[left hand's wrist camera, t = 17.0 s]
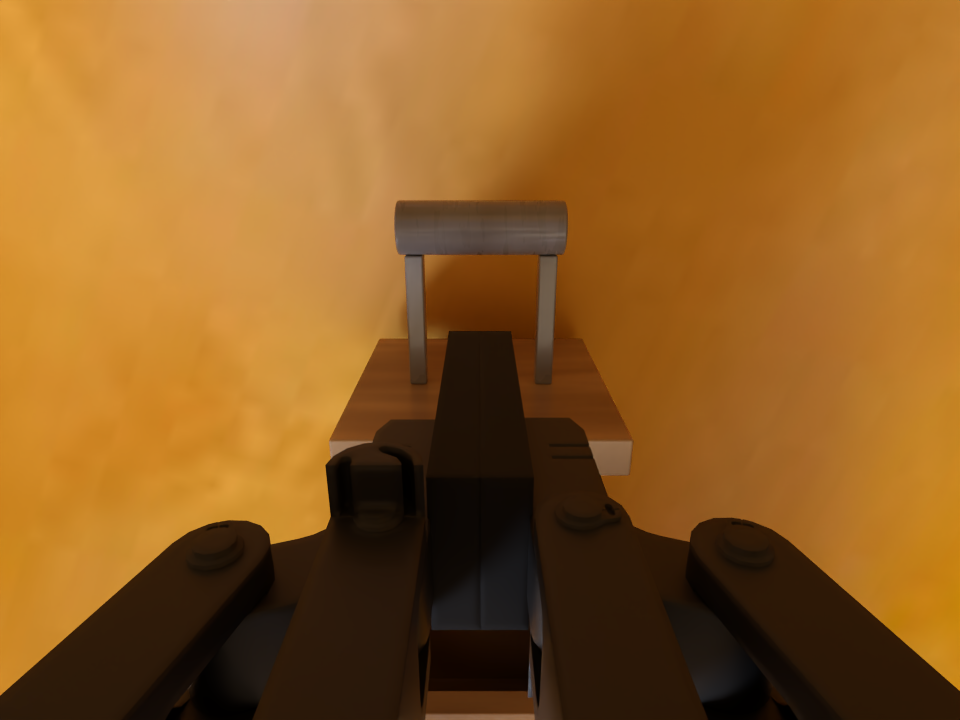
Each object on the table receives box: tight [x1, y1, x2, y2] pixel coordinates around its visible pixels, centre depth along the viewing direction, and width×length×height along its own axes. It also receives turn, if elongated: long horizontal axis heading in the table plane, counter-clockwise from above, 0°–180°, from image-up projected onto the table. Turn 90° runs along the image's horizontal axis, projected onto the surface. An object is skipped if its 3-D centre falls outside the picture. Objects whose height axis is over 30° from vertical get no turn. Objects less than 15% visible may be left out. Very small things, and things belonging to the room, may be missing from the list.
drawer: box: [329, 201, 633, 691], centre depth 24 cm, size 26×9×9 cm, turn 0°
